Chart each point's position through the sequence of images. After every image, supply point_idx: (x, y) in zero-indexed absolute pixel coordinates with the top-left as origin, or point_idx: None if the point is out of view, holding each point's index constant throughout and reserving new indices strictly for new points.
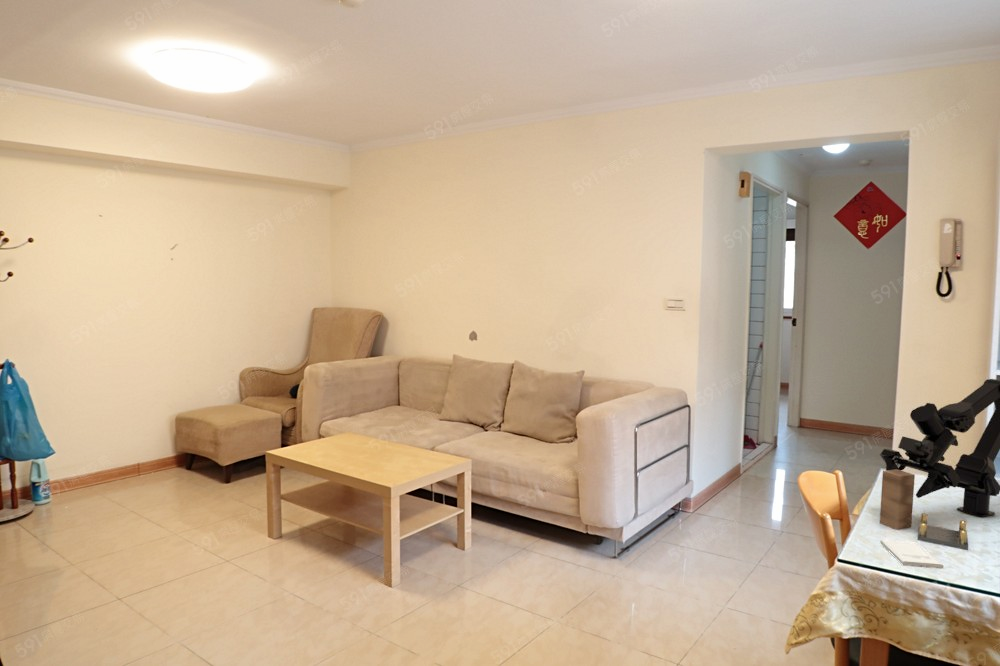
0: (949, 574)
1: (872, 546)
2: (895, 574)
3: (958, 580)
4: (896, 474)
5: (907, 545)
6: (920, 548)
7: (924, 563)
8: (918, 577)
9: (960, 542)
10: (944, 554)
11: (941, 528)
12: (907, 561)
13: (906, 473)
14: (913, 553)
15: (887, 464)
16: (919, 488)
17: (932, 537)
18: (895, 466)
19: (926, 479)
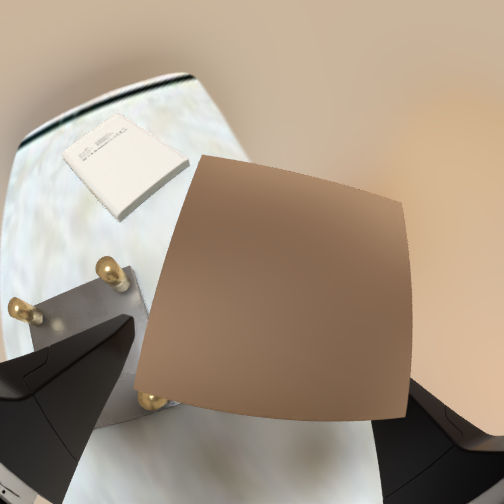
0: (56, 148)
1: (192, 139)
2: (123, 92)
3: (47, 142)
4: (267, 185)
5: (128, 174)
6: (101, 183)
7: (88, 133)
8: (95, 106)
9: (37, 308)
10: (63, 228)
11: (116, 417)
12: (112, 116)
13: (229, 347)
14: (109, 149)
15: (494, 438)
16: (106, 341)
17: (97, 292)
18: (448, 497)
19: (36, 386)
